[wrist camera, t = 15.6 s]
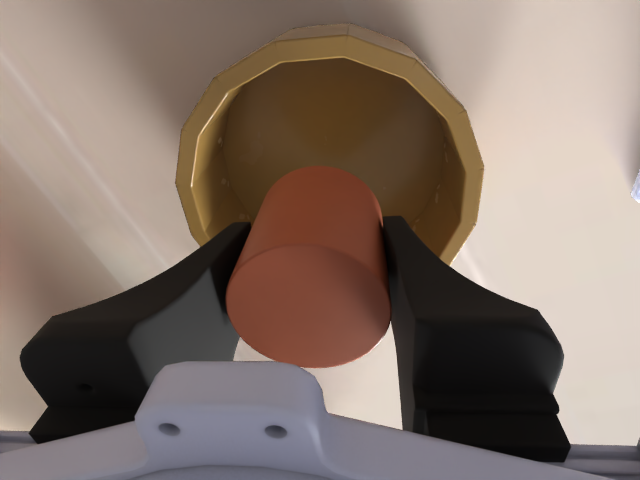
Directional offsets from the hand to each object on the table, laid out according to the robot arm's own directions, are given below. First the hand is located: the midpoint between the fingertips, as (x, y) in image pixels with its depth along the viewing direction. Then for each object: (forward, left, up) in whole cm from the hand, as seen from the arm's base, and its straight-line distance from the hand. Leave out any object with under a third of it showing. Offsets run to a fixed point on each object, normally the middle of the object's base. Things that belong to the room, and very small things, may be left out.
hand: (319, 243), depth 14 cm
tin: (0, 0, -8) cm, 8 cm away
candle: (0, 0, -1) cm, 1 cm away
